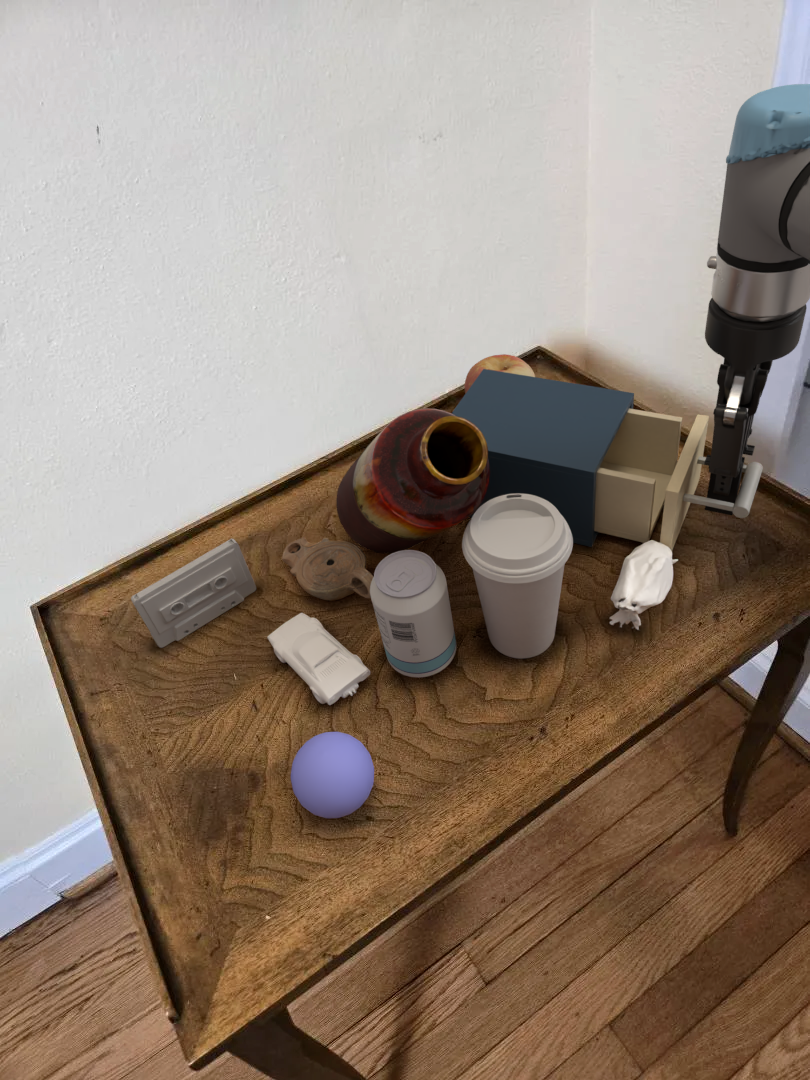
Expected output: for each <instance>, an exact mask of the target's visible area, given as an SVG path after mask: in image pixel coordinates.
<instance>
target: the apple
mask: <svg viewBox="0 0 810 1080" xmlns="http://www.w3.org/2000/svg"><path fill="white" fill-rule="evenodd" d="M483 369H488V370H494V371H500V372H506V373H512V374H519V375H525V376H531V377H536V374H535V373H534V369H532V367H531V366H530V364H528V363H527V362H526V361H525V360H523V359H521V358H520V357H517V356H516V355H513V354H512V355H511V354H504V353H503V354H502V353H501V354H493V355H489V356H487V357H484V358H482V359H481V360H479V361H477V362H476V363H474V365H472V366H471V368H470V369H469V370H468V372H467V375H466V377H465V380H464V393H465V394H466V393H467V391H468V390H469V388H470V387H471V386H472V384H473V383H474V381H475V380H476V379H477V377H478V376H479V374H480V373H481V372H482V370H483ZM465 394H464V395H465Z"/></svg>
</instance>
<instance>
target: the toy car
mask: <svg viewBox="0 0 810 1080" xmlns="http://www.w3.org/2000/svg"><path fill="white" fill-rule="evenodd" d="M267 640H268V641H269V643H270V644H271V646H272V648H273V652H274V654H275V657H277V658H278V660H279V661H280V662H281V663H283V664H285V663H287V664H288V666H289V667H291V668H292V670H293V671H294V672H295V673H296V674H297V675H298V676H299V677H300V678H301V679H302V681H304V683H306V685H308V687H309V689H310V690H311V692H312V695H313V696H314V698H315V699H316V701H317V702H318V703H320V704H321V705H324V704H327V705H329V706H331V705H333V704H335V703H336V702H337V701H338V700H339V699H340V698H342V699H345V698H347V697H348V696H351V697H353V695H354V694H356V693H357V690H358V688H359V687H360V686H359V683H360V682H363V681H365V680H366V679H367V678H368V677H369V676H370V675H371V670H370V669H369V668H368V667H367V666H366V665H365V664H364V662H363V661H362V659H361V658H360V656H358V655H357V654H354V653H352V652H351V651H350V650H348V649H347V648H346V647H345V646H344V645H343V644H342V643H341V642H340V641H339V640H338V639H337V638H335V637H334V636H333V635H332V634H331V633H330V632H329V631H328V630H326V628H325V627H324V625H323V624H322V622H321V621H320V620H319V619H317V618H316V617H310V616H309V615H307V614H305V613H304V612H300V613H298V614H296V615H294V616H293V617H292V618H290V619H289V620H288V619H287V620H286V621H285V622H284V623H282V624H281V625H280V626H278V628H276V629H274V631H272V632H271V633H270V634H268V635H267Z"/></svg>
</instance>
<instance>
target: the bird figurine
mask: <svg viewBox="0 0 810 1080" xmlns="http://www.w3.org/2000/svg"><path fill="white" fill-rule="evenodd" d="M677 562H679V559H678V558H674V559H673V550H672V551H671V549H670V548H669V547H668V546H666V545H664V544H662V543H660V541H657V540H654V539H651V540H650V539H649V541H648V542H645V543H643V542H642V544H640V545H638V546H636V547H634V549H633V550H632V551H631V552H630V554H629V555H627V556H626V557H625V558H624V560H623V563H622V566H621V570H620V573H619V576H618V579H617V582H616V584H615V586H614V589H612V594H611V596H610V601H611V602H612V604H613V605H614V608H616V609H619V610H618V611H616V612H615V613H614V614H613V615H611V616H609V620H610V621H609V625H611V626H614V625H615V624H616V623H619V624H618V625H619V628H623V625H624V624H625V625H628V624H630V623H631V622H632V625H633V626H632V627H631V629H634V628H635V630H637V631H641V629H639V627H641V626H642V623H641V622H642V621H641V618H640V616H639V614H642V613H644V611H647V610H648V609H649V608H651V607H655V606H657V605H659V604H661V603H663V602H664V601H665V599H666V597H667V596H668V594H669V591H670V590H671V588H672V586H673V580H674V564H676V563H677Z"/></svg>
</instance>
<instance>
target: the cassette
mask: <svg viewBox="0 0 810 1080" xmlns="http://www.w3.org/2000/svg"><path fill="white" fill-rule="evenodd" d="M240 547H241V546H240V544H239V543H238V542H237V541H236V540H235V538H230V539H228V540H226V541H224V542H223V543H221V544H220V545H218V546H215V547H214V548H212V549H211V550H209V551H206V553H204V554H202V555H200V556H199V557H197V558H196V559H193V560H192V561H190V562H189V563H187V564H185V565H182V567H180V568H178V569H176V570H174V571H173V572H171V573H169V574H168V575H166V576H165V577H162V578H161V579H159V580H157V581H155V582H154V583H152V584H150V585H149V586H147V587H145V588H143V589H142V590H140V591H138V592H137V593H135V594H133V595H131V597H130V601H131V602H132V604H133V606H134V608H135V609H136V611H137V613H138V615H139V616H140V618H141V619H142V621H143V623H144V624H145V627H146V628H147V629H148V632H149V633H150V636H151V638H152V639H153V641H154V643H155V644H156V646H157V647H159V648H160V649H162V648H165V647H167V646H168V645H170V644H171V643H173V642H174V641H177V642H179V641H180V640H183V639H184V638H185V637H187V636H188V635H191V634H192V633H194V632H195V631H196V630H198V629H200V628H201V627H203V626H205V625H206V624H208V623H210V622H212V621H213V620H214V619H216V618H218V617H219V616H221V615H223V614H225V613H226V612H228V611H229V610H230V609H232V608H235V607H236V606H237V605H239V604H241V603H242V602H244V601H245V598H246V597H249V595H251V594H253V593H254V592H256V591H257V586H256V582H255V581H254V577H253V576H252V574H251V571H250V569H249V566H248V564H247V561H246V559H245V557H244V554H243V552H242V549H241V548H240Z"/></svg>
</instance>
